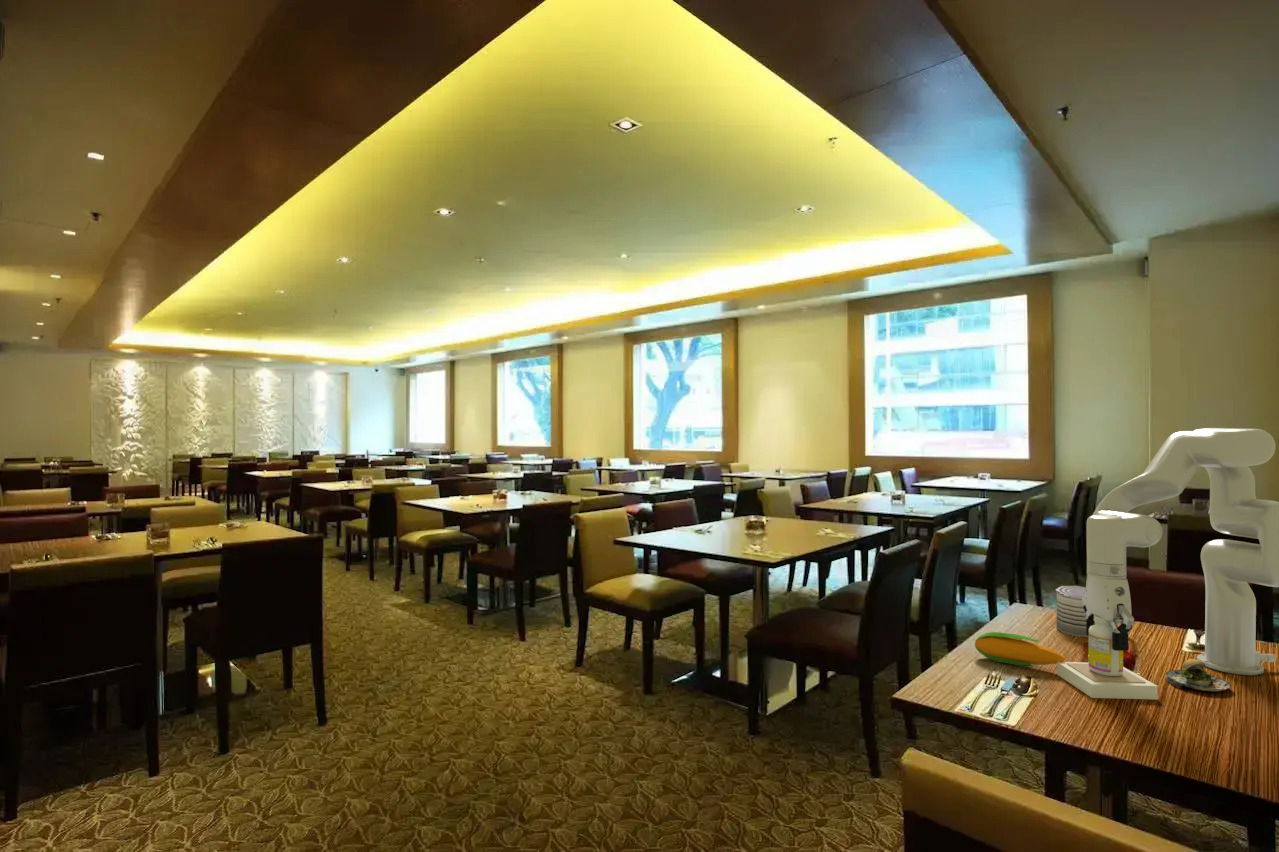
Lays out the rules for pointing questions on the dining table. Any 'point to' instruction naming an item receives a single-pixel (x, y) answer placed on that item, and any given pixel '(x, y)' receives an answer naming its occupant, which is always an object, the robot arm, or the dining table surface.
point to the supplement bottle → (1103, 649)
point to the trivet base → (1107, 682)
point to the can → (1071, 610)
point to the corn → (1016, 650)
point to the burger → (1195, 677)
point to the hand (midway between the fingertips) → (1106, 642)
